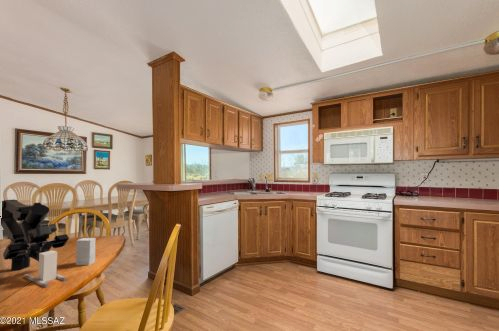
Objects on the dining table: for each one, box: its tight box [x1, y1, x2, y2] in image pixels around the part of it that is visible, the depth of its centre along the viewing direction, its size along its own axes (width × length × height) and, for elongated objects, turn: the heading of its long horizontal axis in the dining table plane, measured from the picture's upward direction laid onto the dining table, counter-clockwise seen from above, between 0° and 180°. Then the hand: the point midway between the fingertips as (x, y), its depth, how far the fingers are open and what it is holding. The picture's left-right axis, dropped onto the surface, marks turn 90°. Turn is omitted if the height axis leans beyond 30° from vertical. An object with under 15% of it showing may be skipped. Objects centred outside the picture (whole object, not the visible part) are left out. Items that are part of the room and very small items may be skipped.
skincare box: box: [75, 237, 97, 266], centre depth 104 cm, size 6×4×12 cm
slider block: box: [37, 249, 58, 283], centre depth 88 cm, size 4×4×10 cm
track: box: [24, 272, 68, 289], centre depth 89 cm, size 17×7×2 cm, turn 62°
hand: (44, 263), depth 89 cm, fingers closed, pressing on slider block
